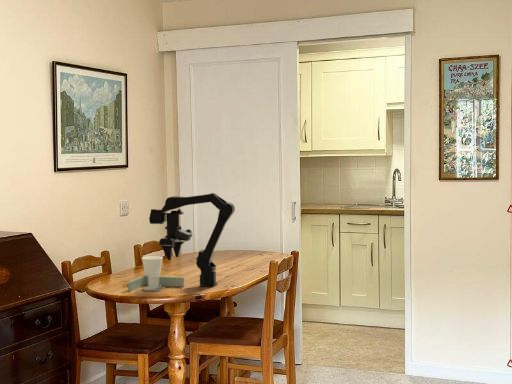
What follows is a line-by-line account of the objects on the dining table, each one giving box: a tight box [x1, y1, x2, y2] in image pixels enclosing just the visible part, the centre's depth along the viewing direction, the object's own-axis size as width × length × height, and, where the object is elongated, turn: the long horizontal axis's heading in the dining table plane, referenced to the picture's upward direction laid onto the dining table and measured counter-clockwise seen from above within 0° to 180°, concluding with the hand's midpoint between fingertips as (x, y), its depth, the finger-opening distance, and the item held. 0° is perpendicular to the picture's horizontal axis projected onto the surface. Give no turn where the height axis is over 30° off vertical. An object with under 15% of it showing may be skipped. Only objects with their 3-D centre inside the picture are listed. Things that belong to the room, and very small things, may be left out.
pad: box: [140, 286, 168, 292], centre depth 298 cm, size 8×11×1 cm
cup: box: [141, 255, 164, 276], centre depth 316 cm, size 10×10×11 cm
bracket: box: [143, 276, 160, 290], centre depth 296 cm, size 6×5×5 cm
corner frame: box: [127, 275, 185, 292], centre depth 298 cm, size 20×16×4 cm
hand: (173, 258), depth 306 cm, fingers open, 9 cm apart
